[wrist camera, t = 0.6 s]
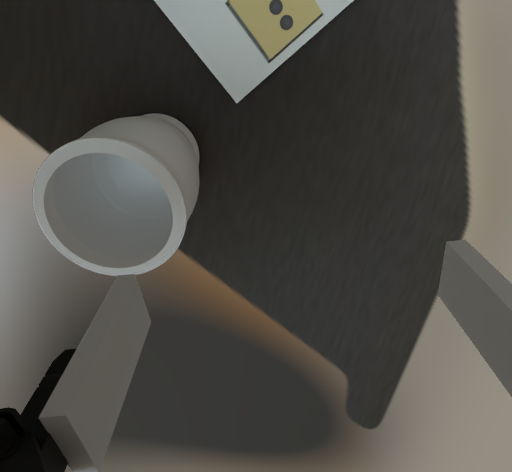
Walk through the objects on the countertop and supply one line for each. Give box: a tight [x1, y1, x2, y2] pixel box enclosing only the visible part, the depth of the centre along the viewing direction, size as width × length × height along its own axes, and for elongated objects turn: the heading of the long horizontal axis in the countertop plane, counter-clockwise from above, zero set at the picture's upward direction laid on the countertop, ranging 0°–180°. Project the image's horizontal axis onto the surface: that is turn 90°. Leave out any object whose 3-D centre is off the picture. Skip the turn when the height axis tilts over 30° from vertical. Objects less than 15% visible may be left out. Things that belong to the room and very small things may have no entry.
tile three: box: [229, 0, 323, 59], centre depth 29 cm, size 5×5×3 cm
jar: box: [32, 113, 199, 276], centre depth 32 cm, size 11×10×15 cm
